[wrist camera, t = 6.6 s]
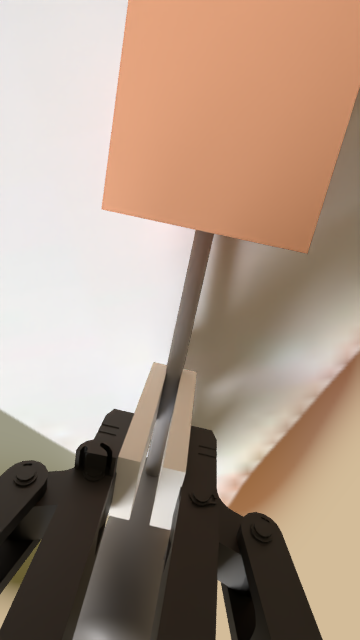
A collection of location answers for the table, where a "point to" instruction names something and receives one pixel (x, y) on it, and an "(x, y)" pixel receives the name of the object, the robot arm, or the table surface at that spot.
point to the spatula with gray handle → (215, 192)
